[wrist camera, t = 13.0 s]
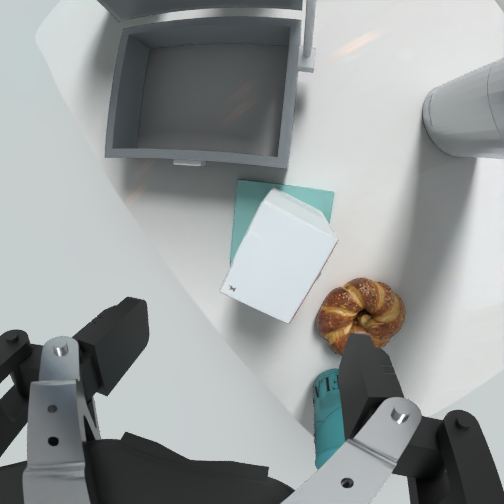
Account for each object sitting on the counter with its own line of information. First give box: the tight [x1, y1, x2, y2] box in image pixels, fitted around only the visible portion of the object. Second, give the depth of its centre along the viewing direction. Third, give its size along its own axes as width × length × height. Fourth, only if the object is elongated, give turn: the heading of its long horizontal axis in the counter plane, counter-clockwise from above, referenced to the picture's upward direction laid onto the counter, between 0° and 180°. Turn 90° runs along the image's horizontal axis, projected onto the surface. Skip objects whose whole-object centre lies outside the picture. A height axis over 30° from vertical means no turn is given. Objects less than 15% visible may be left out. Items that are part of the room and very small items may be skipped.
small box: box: [220, 187, 338, 324], centre depth 28 cm, size 8×6×13 cm
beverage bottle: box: [313, 369, 345, 470], centre depth 31 cm, size 6×7×20 cm
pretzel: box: [316, 278, 405, 355], centre depth 35 cm, size 12×11×4 cm
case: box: [105, 0, 316, 169], centre depth 24 cm, size 22×19×14 cm
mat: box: [230, 180, 334, 276], centre depth 35 cm, size 11×10×1 cm
